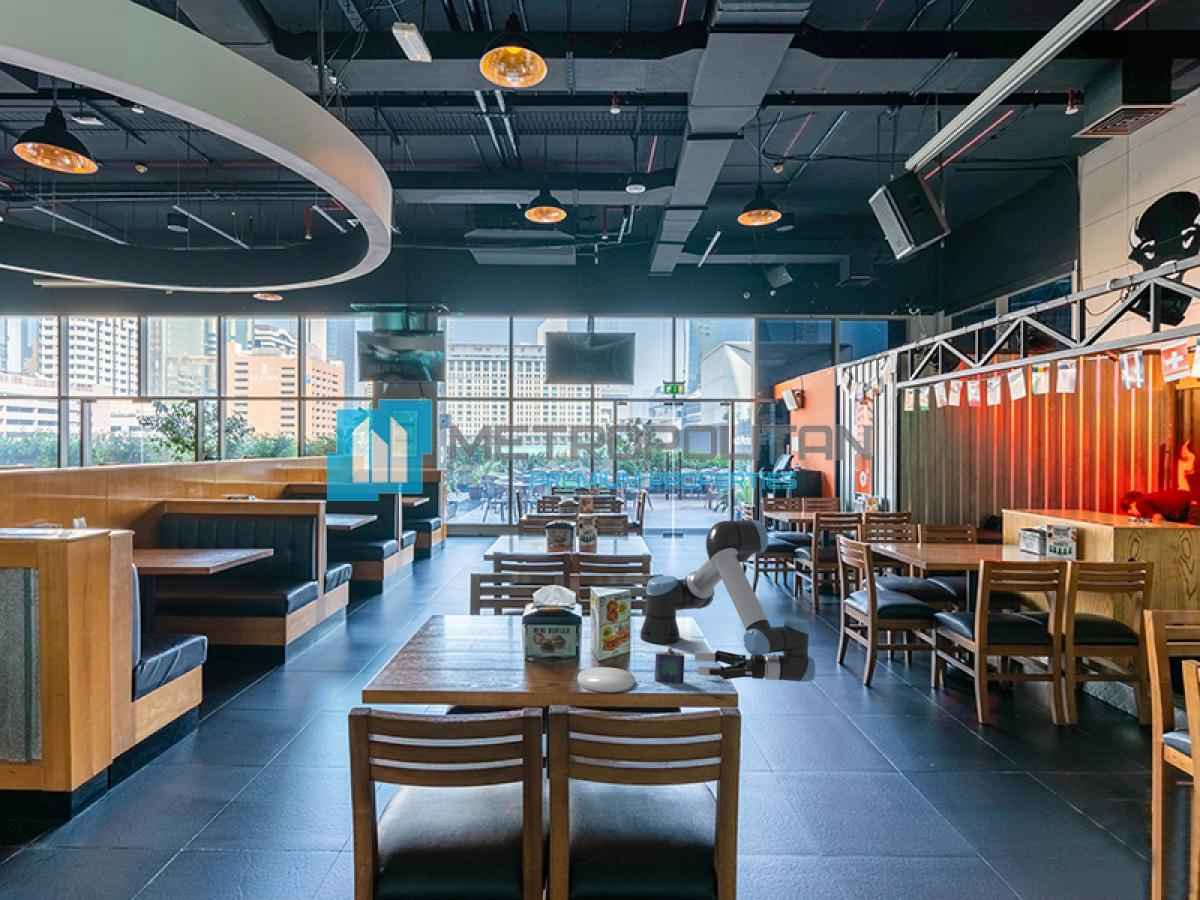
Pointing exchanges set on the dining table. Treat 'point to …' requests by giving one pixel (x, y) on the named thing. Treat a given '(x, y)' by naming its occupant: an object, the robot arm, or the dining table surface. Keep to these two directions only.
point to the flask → (669, 667)
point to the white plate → (606, 679)
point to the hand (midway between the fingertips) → (696, 662)
